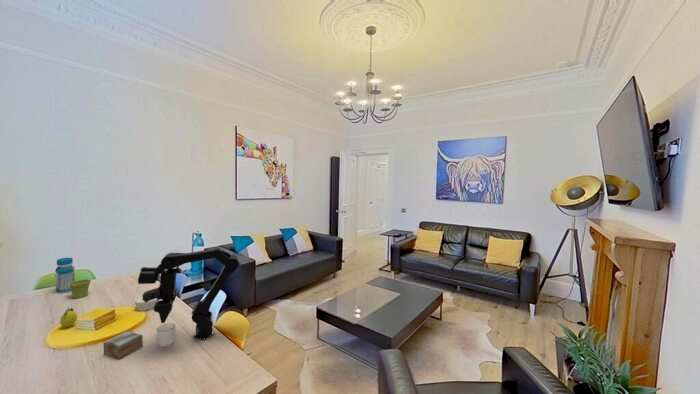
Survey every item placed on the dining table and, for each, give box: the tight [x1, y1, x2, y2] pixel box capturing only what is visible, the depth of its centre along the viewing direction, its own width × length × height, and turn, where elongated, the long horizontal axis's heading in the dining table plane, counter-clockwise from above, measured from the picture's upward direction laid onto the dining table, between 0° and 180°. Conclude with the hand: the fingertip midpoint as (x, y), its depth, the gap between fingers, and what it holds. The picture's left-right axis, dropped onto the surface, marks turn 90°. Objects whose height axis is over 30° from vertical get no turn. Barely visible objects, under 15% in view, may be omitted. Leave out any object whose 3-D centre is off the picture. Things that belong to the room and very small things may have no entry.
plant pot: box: [68, 278, 92, 299], centre depth 161 cm, size 9×9×9 cm
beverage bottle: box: [54, 257, 76, 294], centre depth 168 cm, size 8×8×20 cm
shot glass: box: [156, 322, 176, 347], centre depth 120 cm, size 7×7×7 cm
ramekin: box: [134, 295, 160, 312], centre depth 151 cm, size 11×11×5 cm
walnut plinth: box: [103, 330, 144, 360], centre depth 114 cm, size 9×9×5 cm
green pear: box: [59, 305, 78, 327], centre depth 129 cm, size 7×6×10 cm
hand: (164, 317), depth 120 cm, fingers open, 9 cm apart
